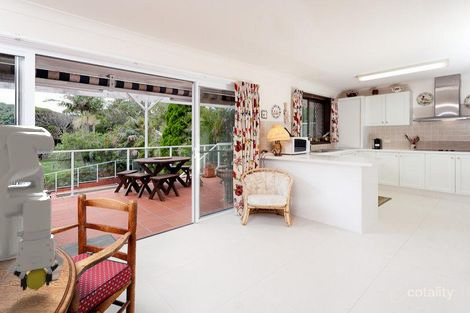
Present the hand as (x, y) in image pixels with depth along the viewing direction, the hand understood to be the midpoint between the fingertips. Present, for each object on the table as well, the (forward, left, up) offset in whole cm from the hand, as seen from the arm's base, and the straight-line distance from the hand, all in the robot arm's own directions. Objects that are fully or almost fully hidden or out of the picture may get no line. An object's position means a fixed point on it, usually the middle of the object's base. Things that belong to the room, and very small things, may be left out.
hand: (36, 285), depth 83 cm
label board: (-14, 0, -2) cm, 14 cm away
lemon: (0, 0, -2) cm, 2 cm away
